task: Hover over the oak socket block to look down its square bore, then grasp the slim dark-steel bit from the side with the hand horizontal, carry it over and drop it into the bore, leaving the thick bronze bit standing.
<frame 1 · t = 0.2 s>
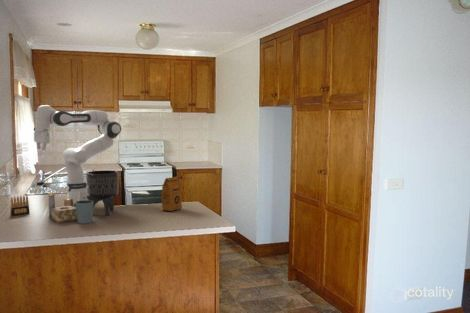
hand: (41, 149, 287), 39 cm above the counter, tool pointing down, fingers open, 8 cm apart
ammunition clip: (20, 215, 268), on the counter
socket block: (64, 219, 255), on the counter
coffee package: (172, 210, 283), on the counter
blue-grey cup: (85, 222, 251), on the counter
planter: (103, 213, 272), on the counter
steel bit: (52, 217, 261), on the counter
thick bronze bit: (69, 215, 267), on the counter
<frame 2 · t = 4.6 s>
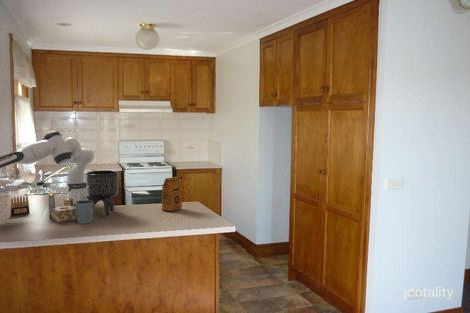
hand: (30, 185, 257), 20 cm above the counter, tool horizontal, fingers open, 8 cm apart
nothing on the counter moved.
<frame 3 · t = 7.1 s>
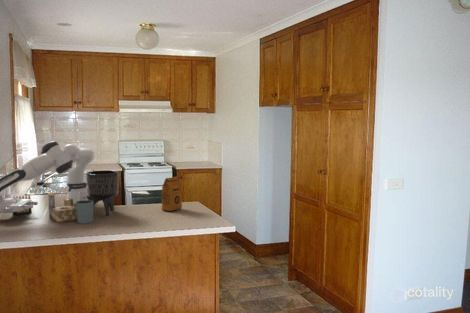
hand: (35, 204, 259), 8 cm above the counter, tool horizontal, fingers open, 8 cm apart
ammunition clip: (22, 214, 269), on the counter
everything else where it was.
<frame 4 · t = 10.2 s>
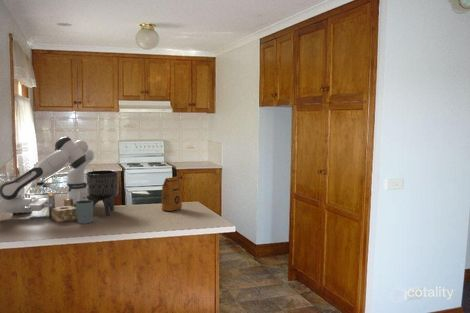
hand: (53, 204, 261), 8 cm above the counter, tool horizontal, fingers closed on steel bit, 3 cm apart
steel bit: (52, 217, 261), on the counter, touching gripper
everything else where it was.
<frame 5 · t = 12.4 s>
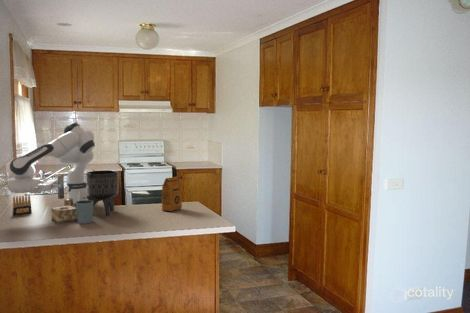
hand: (62, 184, 254), 21 cm above the counter, tool horizontal, fingers closed on steel bit, 3 cm apart
steel bit: (61, 198, 255), point 13 cm above the counter, touching gripper
everything else where it was.
when the fingers open (13 cm above the counter, at t = 14.7 s): steel bit drops 4 cm, resting on socket block.
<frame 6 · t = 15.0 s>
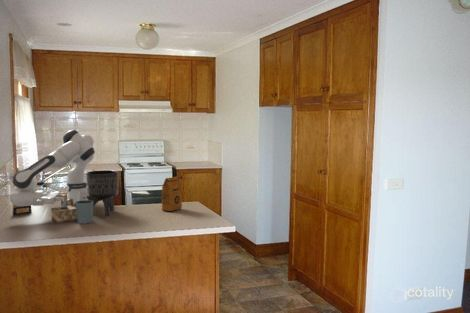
hand: (65, 197, 254), 13 cm above the counter, tool horizontal, fingers open, 6 cm apart
steel bit: (64, 218, 255), point 1 cm above the counter, touching socket block
everything else where it was.
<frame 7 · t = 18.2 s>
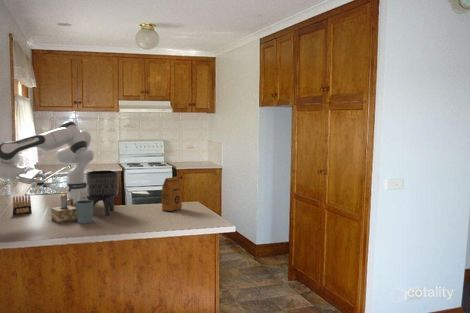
hand: (44, 179, 251), 25 cm above the counter, tool horizontal, fingers open, 8 cm apart
nothing on the counter moved.
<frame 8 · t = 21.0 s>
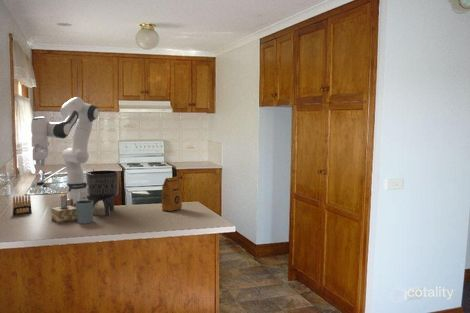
hand: (40, 166, 259), 31 cm above the counter, tool pointing down, fingers open, 8 cm apart
nothing on the counter moved.
at the end: steel bit 0.1 cm off-centre on the socket block, point 1.0 cm above the socket block's base; steel bit tilted 1°; the gripper is holding nothing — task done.
